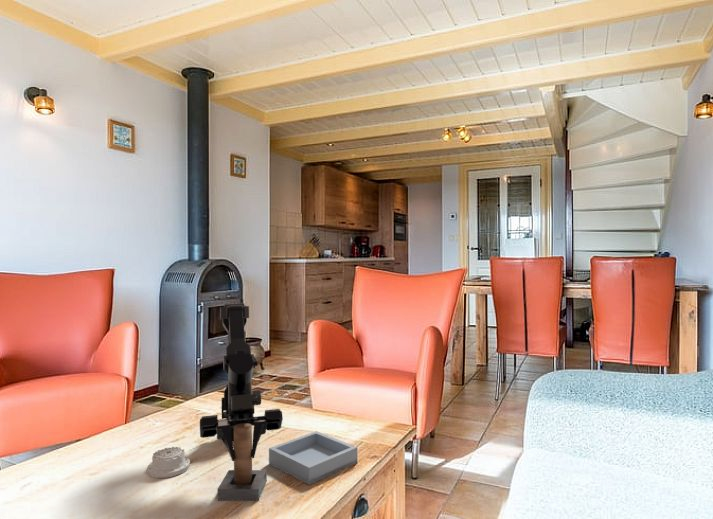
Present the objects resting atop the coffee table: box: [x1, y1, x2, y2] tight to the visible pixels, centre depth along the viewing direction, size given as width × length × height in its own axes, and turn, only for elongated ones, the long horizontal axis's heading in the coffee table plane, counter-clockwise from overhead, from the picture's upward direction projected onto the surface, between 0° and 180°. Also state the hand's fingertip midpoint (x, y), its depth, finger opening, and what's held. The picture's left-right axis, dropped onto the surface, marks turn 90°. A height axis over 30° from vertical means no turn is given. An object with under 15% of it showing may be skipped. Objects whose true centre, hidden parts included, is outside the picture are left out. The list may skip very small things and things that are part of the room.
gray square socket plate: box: [217, 469, 268, 501], centre depth 108 cm, size 9×9×2 cm
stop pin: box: [233, 423, 253, 485], centre depth 108 cm, size 4×4×14 cm
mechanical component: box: [146, 446, 191, 479], centre depth 119 cm, size 10×4×10 cm
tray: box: [268, 430, 358, 486], centre depth 122 cm, size 16×16×4 cm
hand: (243, 458), depth 107 cm, fingers closed on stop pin, 4 cm apart
